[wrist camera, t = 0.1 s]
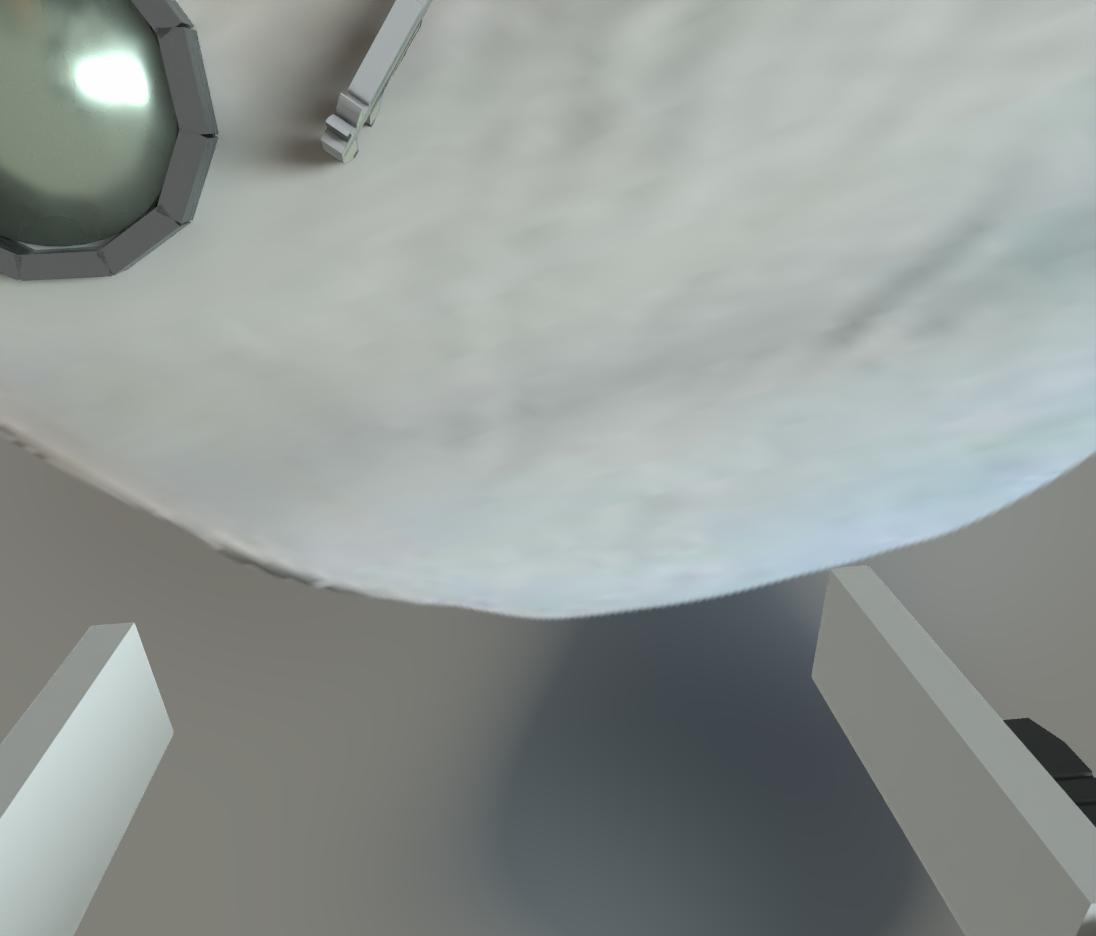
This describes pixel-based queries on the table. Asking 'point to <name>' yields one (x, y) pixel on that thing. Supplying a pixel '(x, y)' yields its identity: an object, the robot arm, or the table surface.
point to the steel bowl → (98, 132)
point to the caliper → (372, 79)
